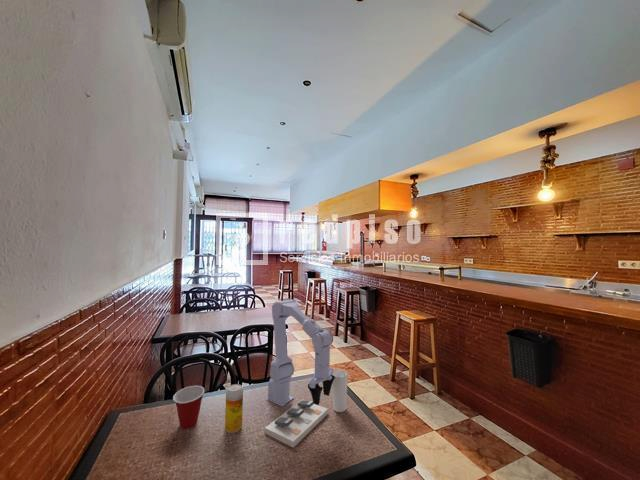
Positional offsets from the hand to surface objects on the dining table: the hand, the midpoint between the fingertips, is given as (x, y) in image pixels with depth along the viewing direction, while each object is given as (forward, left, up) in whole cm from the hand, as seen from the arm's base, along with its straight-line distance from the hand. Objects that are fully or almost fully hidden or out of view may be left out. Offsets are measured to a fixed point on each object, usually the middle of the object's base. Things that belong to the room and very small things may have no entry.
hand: (321, 399), depth 104 cm
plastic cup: (-42, -28, -10) cm, 51 cm away
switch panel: (-8, -4, -10) cm, 13 cm away
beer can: (-26, -20, -10) cm, 34 cm away
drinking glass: (+1, +13, -10) cm, 17 cm away
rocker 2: (-10, -4, -6) cm, 12 cm away
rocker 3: (-10, +3, -6) cm, 12 cm away
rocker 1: (-10, -11, -6) cm, 16 cm away
